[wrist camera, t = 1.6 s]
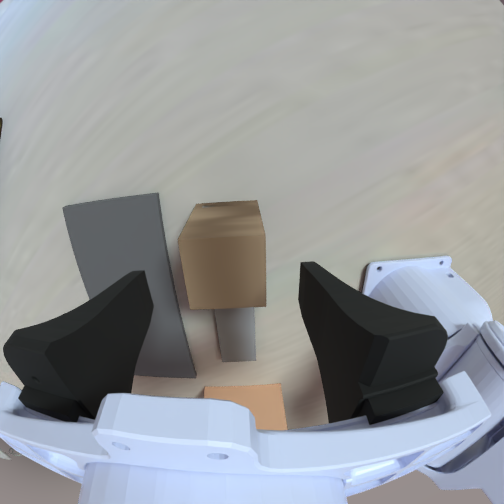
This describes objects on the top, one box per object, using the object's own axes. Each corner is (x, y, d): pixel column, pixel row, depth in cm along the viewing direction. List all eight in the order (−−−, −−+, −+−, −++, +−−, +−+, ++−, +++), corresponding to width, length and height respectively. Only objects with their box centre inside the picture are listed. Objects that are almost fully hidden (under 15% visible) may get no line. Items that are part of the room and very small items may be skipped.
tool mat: (158, 192, 17) (156, 194, 17) (196, 374, 25) (196, 378, 24) (65, 205, 17) (62, 207, 16) (125, 370, 25) (124, 373, 24)
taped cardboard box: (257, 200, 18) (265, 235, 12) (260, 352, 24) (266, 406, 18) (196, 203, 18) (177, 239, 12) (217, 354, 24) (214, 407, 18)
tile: (280, 383, 26) (290, 448, 19) (279, 391, 27) (289, 454, 20) (204, 386, 26) (199, 451, 19) (207, 394, 27) (203, 457, 19)
